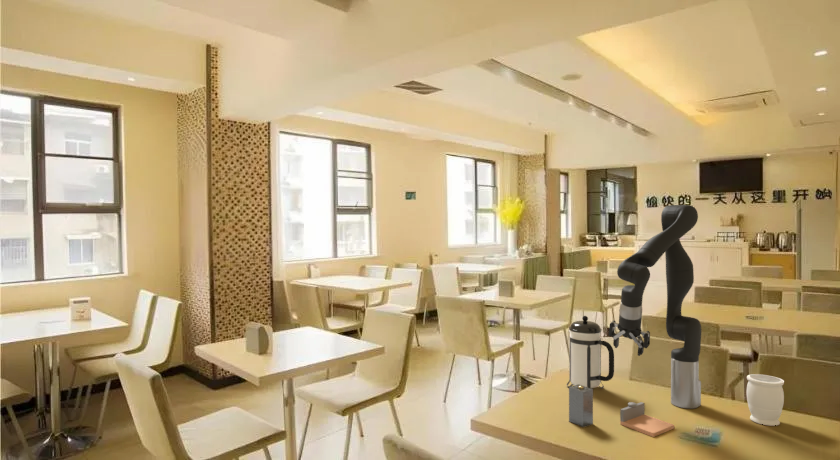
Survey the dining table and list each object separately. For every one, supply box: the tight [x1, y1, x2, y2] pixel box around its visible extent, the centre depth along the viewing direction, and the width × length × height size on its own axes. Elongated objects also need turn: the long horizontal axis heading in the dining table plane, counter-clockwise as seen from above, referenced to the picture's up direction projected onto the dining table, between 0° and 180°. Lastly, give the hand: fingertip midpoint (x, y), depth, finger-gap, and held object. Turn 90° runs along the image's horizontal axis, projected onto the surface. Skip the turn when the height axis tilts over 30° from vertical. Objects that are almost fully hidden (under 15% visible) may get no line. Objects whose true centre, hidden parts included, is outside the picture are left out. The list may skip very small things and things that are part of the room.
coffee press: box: [566, 315, 615, 389], centre depth 206 cm, size 17×16×30 cm
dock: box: [619, 401, 675, 438], centre depth 168 cm, size 12×13×6 cm
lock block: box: [568, 385, 594, 428], centre depth 171 cm, size 5×6×13 cm
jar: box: [746, 373, 785, 427], centre depth 172 cm, size 11×10×15 cm
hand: (627, 350), depth 186 cm, fingers open, 8 cm apart
